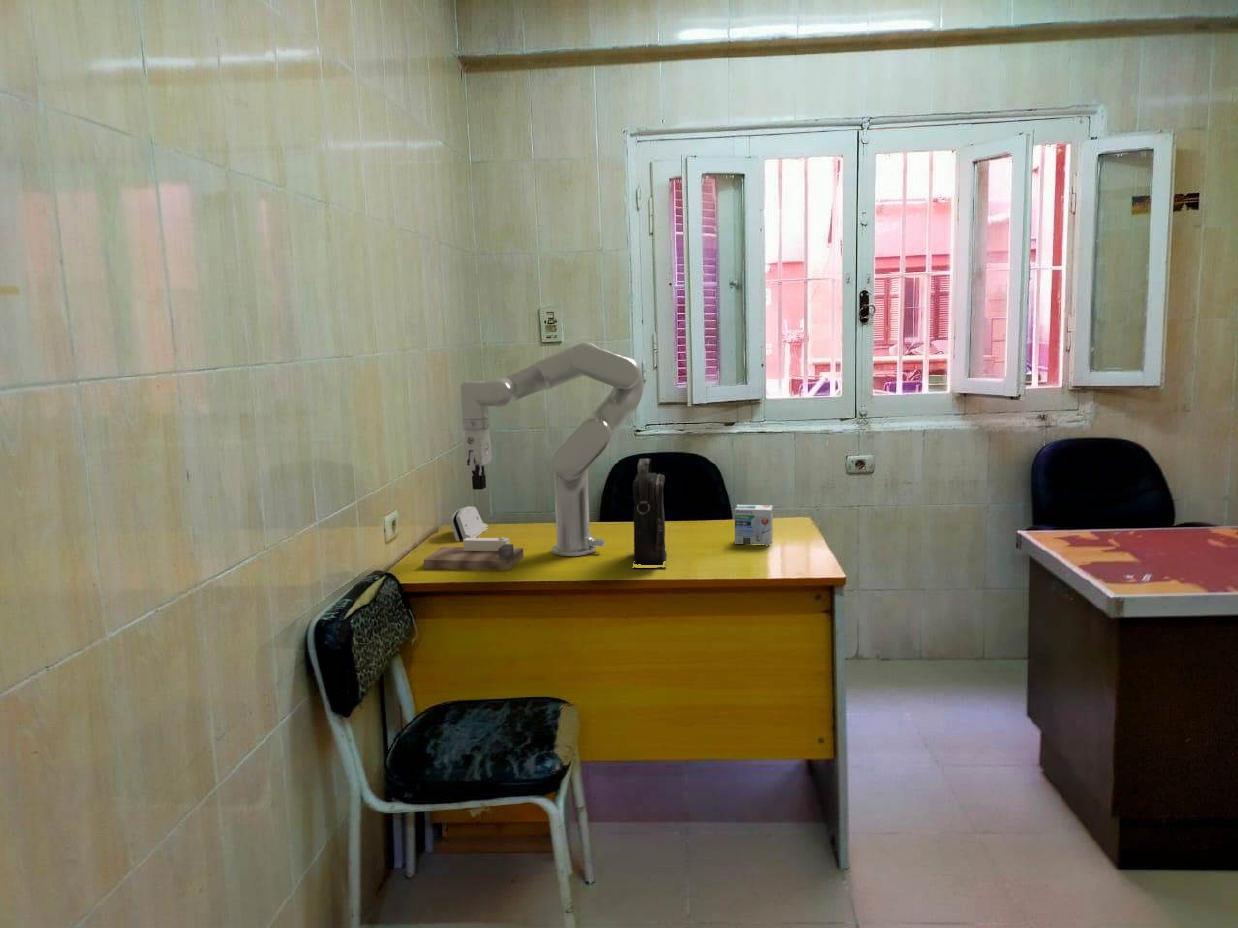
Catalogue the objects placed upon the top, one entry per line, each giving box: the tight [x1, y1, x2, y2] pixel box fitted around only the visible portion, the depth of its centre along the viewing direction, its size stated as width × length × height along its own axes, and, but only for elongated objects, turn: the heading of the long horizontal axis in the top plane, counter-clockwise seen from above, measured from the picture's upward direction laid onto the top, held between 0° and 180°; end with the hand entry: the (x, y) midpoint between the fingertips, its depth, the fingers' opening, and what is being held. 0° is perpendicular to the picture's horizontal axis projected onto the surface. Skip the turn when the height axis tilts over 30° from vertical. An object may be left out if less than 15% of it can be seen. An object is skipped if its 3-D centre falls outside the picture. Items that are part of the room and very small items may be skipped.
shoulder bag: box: [632, 457, 668, 565], centre depth 240 cm, size 23×9×28 cm, turn 176°
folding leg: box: [462, 536, 510, 551], centre depth 246 cm, size 12×3×3 cm, turn 80°
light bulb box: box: [734, 504, 774, 545], centre depth 255 cm, size 11×7×11 cm, turn 76°
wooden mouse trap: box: [423, 543, 524, 571], centre depth 242 cm, size 24×14×6 cm, turn 80°
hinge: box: [449, 505, 489, 542], centre depth 275 cm, size 17×5×10 cm, turn 170°
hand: (479, 488), depth 250 cm, fingers closed
